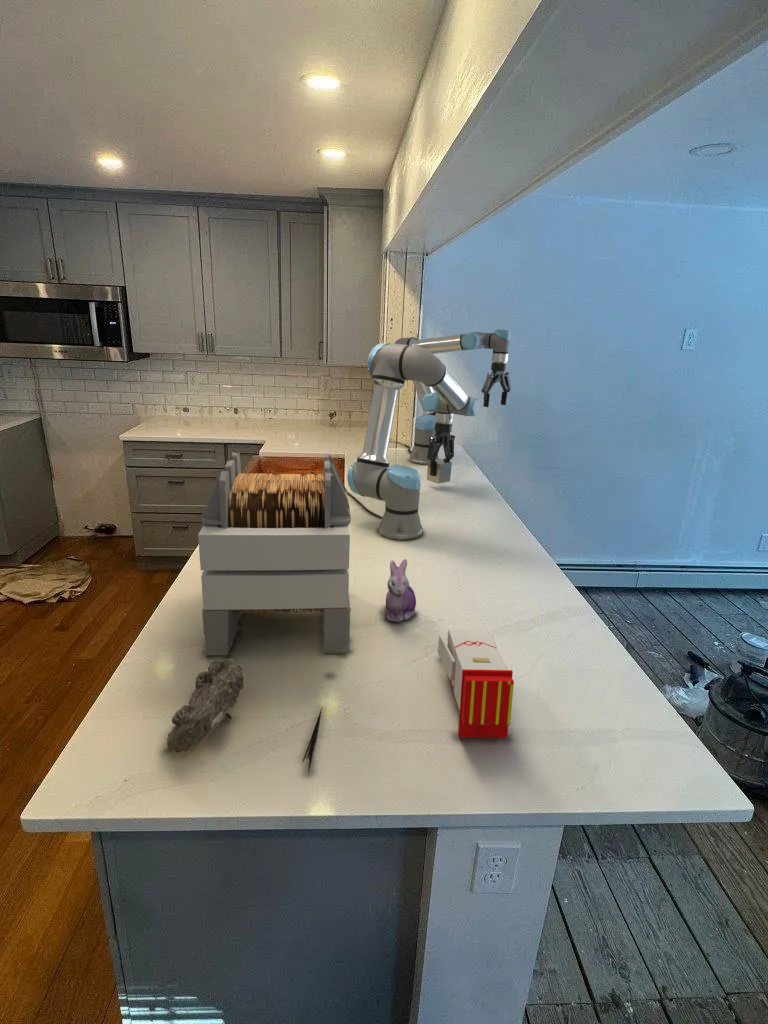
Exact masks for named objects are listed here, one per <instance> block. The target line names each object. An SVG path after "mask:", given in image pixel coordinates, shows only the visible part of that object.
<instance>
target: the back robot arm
mask: <svg viewBox="0 0 768 1024" xmlns="http://www.w3.org/2000/svg"><path fill="white" fill-rule="evenodd" d="M510 341H511V331H510V329H504V328H495V330H494V332H485V331H484V332H483V331H482V332H481V331H472V332H468V333H461V334H454V335H452V334H451V335H446V336H437V337H429V338H423V339H420V338H418V337H414V336H411V337H400V338H398V339H397V340H395V341H394V342H393V344H403V345H414V346H419V347H422V348H424V349H426V350H428V351H429V352H431V353H432V354H434V355H435V354H436V355H437V354H444V353H454V352H462V351H474V350H479V349H484V350H486V349H487V350H492V358H491V361H492V362H491V365H490V370H491V372H487V374H486V378H485V380H484V383H483V385H482V388H481V391H480V392H481V393H482V394H483V407H484V408H489V407H490V399H491V398H490V396H491V394H490V392H491V391H492V389H493V387H494V385H495V384H496V383H498V382H499V384H500V386H501V388H502V391H501V397H500V405H501V406H507V399H508V394H509V393H510V392H511V390H512V388H511V387H512V386H511V381H510V372H509V371H507V368H508V363H507V362H509V361H508V360H509V350H510ZM412 383H413V385H414V388H415V392H416V394H417V398H418V400H419V402H420V405H421V408H422V412H423V413H422V414H421V415H418V416H417V417H416V419H415V423H414V438H413V439H414V443H413V448H412V450H411V446H409V445H408V444H406V445H404V446H405V447H406V448H407V451H408V452H409V453H410V455H409V462H411V463H413V464H416V465H423V466H424V465H425V466H428V461H429V460H428V459H427V455H428V449H429V443H430V440H429V438H430V437H434V436H435V433H436V432H435V430H434V428H435V423H436V421H435V416H436V411H435V412H427V411H426V410H425V409H424V408H423V406H422V400H423V397H424V396H425V395H427V394H429V393H435V390H434V389H433V388H432V387H429V386H426V385H425V384H423V383H422V382H418V381H412ZM407 445H408V446H407ZM436 459H440V457H439V454H438V455H437V458H436Z"/></svg>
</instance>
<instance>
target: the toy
mask: <svg viewBox="0 0 768 1024" xmlns="http://www.w3.org/2000/svg"><path fill="white" fill-rule="evenodd" d="M446 640H447V643H446V641H445V639H444V636H443V635H442V634H439V637H438V646H437V656H438V657H439V659H440V661H441V663H442V666H443V668H444V670H445V672H446V674H447V677H448V679H449V681H450V684H451V687H452V690H453V693H454V697H455V701H456V705H457V708H458V711H459V714H458V715H459V716H458V730H457V731H458V732H457V737H458V738H508V731H509V726H510V725H511V717H512V707H513V697H514V696H513V695H514V684H515V680H514V679H513V673H514V671H513V670H512V669H508V667H507V665H506V662H505V661H504V659H503V658H502V655H501V653H500V651H499V649H498V647H497V643H496V639H495V637H494V635H493V634H491V632H490V631H489V629H467V628H466V629H465V628H463V629H461V628H460V629H459V628H448V630H447V639H446Z"/></svg>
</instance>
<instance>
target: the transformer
mask: <svg viewBox="0 0 768 1024" xmlns="http://www.w3.org/2000/svg"><path fill="white" fill-rule="evenodd" d="M241 463H242V462H241V453H240V452H235V451H233V452H231V455H230V457H229V459H227V460H226V463H225V466H224V468H223V470H222V471H220V474H219V475H218V477H217V479H216V482H215V483H214V486H213V489H212V491H211V494H210V495H209V498H208V499H207V502H206V505H205V507H204V509H203V511H202V514H201V517H200V520H201V524H202V527H201V529H200V530H199V532H198V535H197V538H198V550H199V552H198V553H199V563H200V565H199V567H200V571H202V573H201V575H200V580H201V581H200V582H201V594H202V605H203V607H202V609H201V610H202V611H201V617H202V629H203V638H204V639H203V640H204V649H205V650H204V651H205V652H204V655H205V656H206V657H212V656H228V654H229V652H230V650H231V647H232V645H233V643H234V640H235V638H236V635H237V632H238V623H240V620H241V617H242V614H244V613H250V614H251V613H253V614H254V613H257V614H258V613H298V612H301V613H302V612H308V613H309V612H322V614H323V654H344V655H346V654H347V653H349V652H350V639H351V604H350V595H349V594H350V593H349V586H350V585H349V584H350V572H349V571H350V570H349V569H350V549H351V548H350V547H351V545H350V542H351V533H350V532H351V531H350V526H349V525H350V524H351V520H352V516H351V515H352V514H351V509H350V502H349V495H348V494H347V492H348V490H347V488H346V486H345V484H344V482H343V480H342V478H341V474H340V473H339V471H338V469H337V466H336V465H335V462H334V460H333V458H332V455H331V454H330V453H326V452H324V453H323V473H322V474H321V473H318V474H317V473H315V474H316V476H315V474H312V473H306V474H303V475H302V474H301V473H280V474H273V473H244V472H243V473H242V466H241Z"/></svg>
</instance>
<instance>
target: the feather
mask: <svg viewBox="0 0 768 1024" xmlns="http://www.w3.org/2000/svg"><path fill="white" fill-rule="evenodd" d="M329 675H330V676H331V675H332V674H331V673H330V674H329ZM322 710H323V707H321V708H320V710H319V713H318V716H317V719H316V723H315V725H314V728H313V731H312V733H311V737H310V739H309V742H308V745H307V748H306V751H305V754H304V757H303V760H302V763H301V767H302V765H303V763H304V761H305V758H308V759H309V760H308V762H307V763H308V764H307V766H308V771H310V770H311V766H312V765H311V764H312V760H313V757H315V756H314V755H315V751H316V749H315V746H317V739H318V733H319V729H320V722H321V717H322V712H323V711H322ZM313 754H314V755H313ZM306 755H307V757H306Z"/></svg>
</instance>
